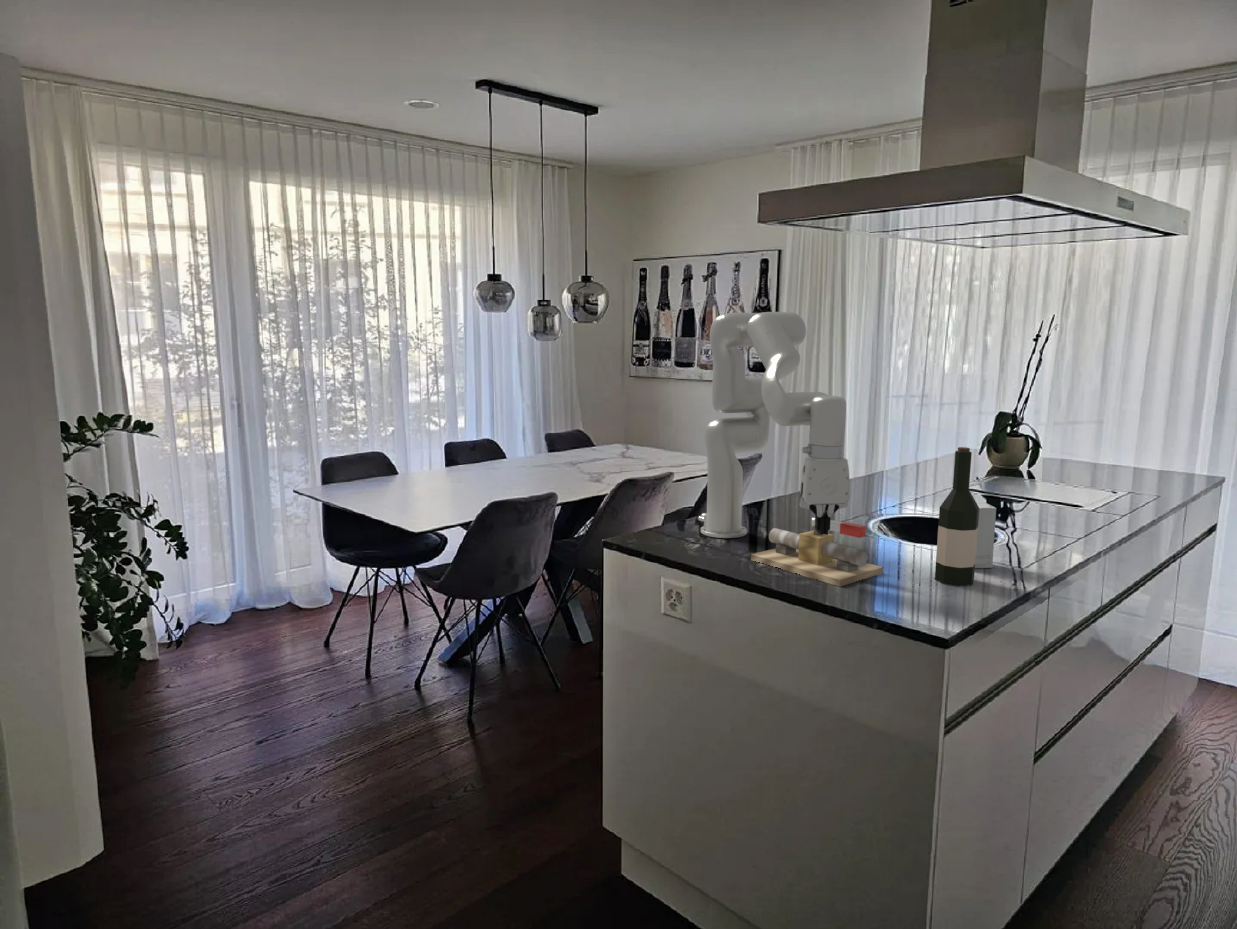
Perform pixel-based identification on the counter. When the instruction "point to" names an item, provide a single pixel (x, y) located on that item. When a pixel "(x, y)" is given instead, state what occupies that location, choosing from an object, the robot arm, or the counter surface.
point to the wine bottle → (958, 528)
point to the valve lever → (845, 528)
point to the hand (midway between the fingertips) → (822, 533)
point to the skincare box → (985, 536)
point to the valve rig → (817, 557)
